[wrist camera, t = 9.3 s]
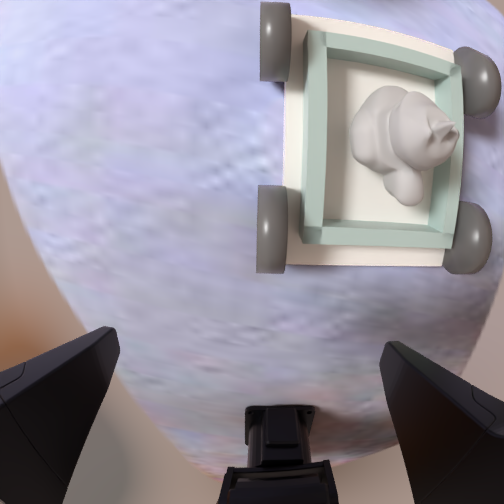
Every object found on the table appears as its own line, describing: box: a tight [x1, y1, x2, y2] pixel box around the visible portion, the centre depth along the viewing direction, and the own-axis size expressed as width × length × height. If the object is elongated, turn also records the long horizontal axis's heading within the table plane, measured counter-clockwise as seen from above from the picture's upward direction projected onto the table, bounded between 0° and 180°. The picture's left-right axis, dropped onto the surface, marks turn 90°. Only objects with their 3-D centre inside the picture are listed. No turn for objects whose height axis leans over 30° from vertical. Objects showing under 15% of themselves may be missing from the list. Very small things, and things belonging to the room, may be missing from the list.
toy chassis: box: [256, 2, 501, 274], centre depth 15 cm, size 16×15×5 cm
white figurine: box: [349, 86, 460, 206], centre depth 12 cm, size 5×7×8 cm
